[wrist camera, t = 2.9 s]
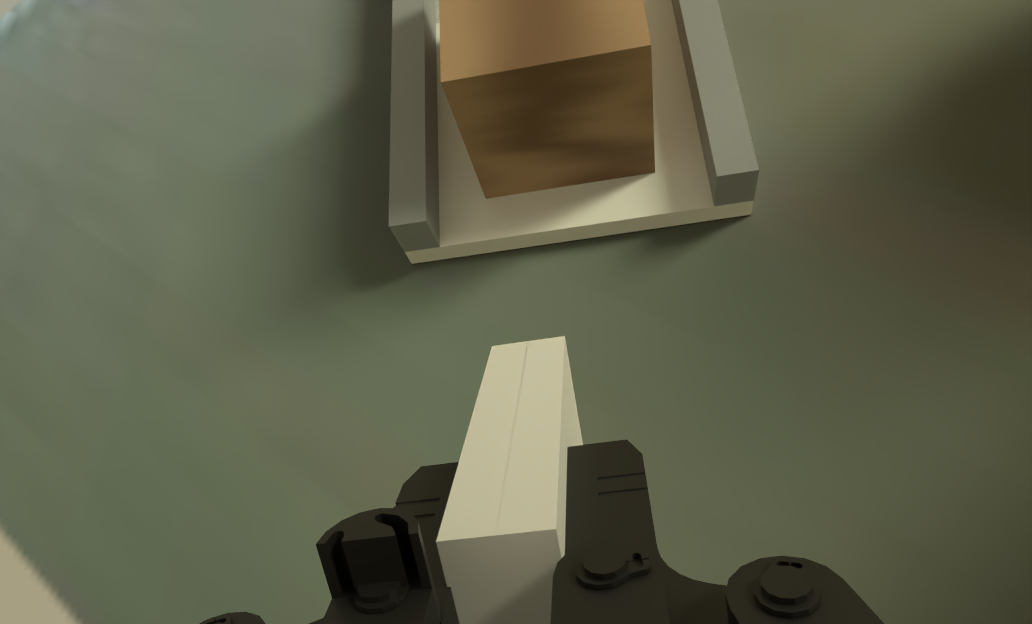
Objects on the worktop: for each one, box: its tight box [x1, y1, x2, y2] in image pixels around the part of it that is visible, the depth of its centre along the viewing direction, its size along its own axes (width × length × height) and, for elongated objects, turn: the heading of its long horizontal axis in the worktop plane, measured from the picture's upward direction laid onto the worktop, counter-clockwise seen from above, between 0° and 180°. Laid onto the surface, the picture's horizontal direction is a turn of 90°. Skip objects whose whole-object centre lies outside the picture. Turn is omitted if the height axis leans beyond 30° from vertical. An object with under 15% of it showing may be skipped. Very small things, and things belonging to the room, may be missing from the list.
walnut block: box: [439, 0, 655, 199], centre depth 30 cm, size 7×10×7 cm
